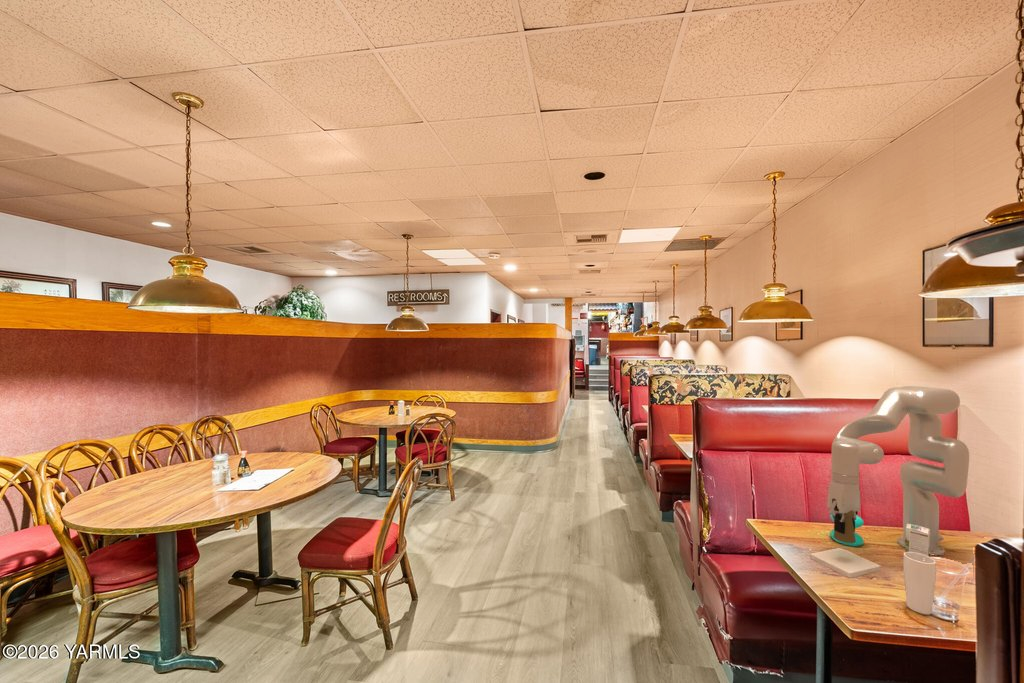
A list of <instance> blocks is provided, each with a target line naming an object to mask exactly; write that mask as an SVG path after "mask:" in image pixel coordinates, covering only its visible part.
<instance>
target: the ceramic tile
mask: <svg viewBox="0 0 1024 683" xmlns="http://www.w3.org/2000/svg"><path fill="white" fill-rule="evenodd" d="M809 559H811V560H813V561H814V562H817V563H819V564H821V565H823V566H824V567H826V568H828V569H831V570H833V571H835V572H837V573H839V574H841V575H842V576H845V577H847V578H848V579H851V578H857V577H861V576H864V575H867V574H873V573H875V572H876V573H877V572H879V571H881V570H882V566H881V565H880V564H877V563H875V562H874V561H871V560H868V559H866V558H865V557H862V556H860V555H857V554H855V553H854V552H852V551H848V550H847V549H844V548H842V547H837V548H832V549H827V550H823V551H819V552H814V553H810V554H809Z"/></svg>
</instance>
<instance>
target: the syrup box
mask: <svg viewBox="0 0 1024 683" xmlns="http://www.w3.org/2000/svg"><path fill="white" fill-rule="evenodd" d="M929 539H930V529H927V528H924V527H921V526H917V525H913V524H907V526H906V536H905V547H904V553H905V552H915V553H920V554H923V555H926V556H928V557H930V555H929Z"/></svg>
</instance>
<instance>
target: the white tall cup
mask: <svg viewBox="0 0 1024 683" xmlns="http://www.w3.org/2000/svg"><path fill="white" fill-rule="evenodd" d="M923 558H925V561H923V560H924V559H923ZM902 565H903V566H902V567H903V568H902V570H903V577H904V586H905V596H906V598H905V599H906V600H905V601H906V606H907V607H908V608H909V609H910V610H912V611H913V612H915V613H918V614H921V615H927V616H928V615H931V614H932V613H933V603H934V597H935V587H936V582H937V562H936V560H935V559H934V558H932V557H930V556H929V557H928V556H926V555H923V554H920V553H915V552H905V551H904V552H903V558H902Z"/></svg>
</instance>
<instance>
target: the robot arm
mask: <svg viewBox="0 0 1024 683" xmlns="http://www.w3.org/2000/svg"><path fill="white" fill-rule="evenodd" d="M960 405H961V398H960V396H959V394H958V393H957V392H955V391H954V390H951V389H947V388H937V387H925V386H916V385H904V386H901V387H890V388H888V389H887V390H885V392H884V393H883V395H881V397H880V398H879V400H878V401H877V403H876V404H875V405H874V406H873V408H872V410H871V411H870V412H869V413H868V414H866V415H865V416H864V415H863V416H861V417H858V418H857V419H855V420H853V421H850V422H848V423H847V424H845V425H843V427H841V429H840V430H839V432H838V433H836V435H835V437H834V438H833V441H832V443H831V463H830V464H831V471H830V472H831V478H830V480H831V481H830V482H829V485H828V490H827V491H828V492H827V493H828V494H827V500H826V501H827V504H826V507H827V509H828V514H829V515H832V516H833V519H834V521H833V526H834V527H833V529H834V530H835V531H837V532H839V533H842V534H845V522H844V513H848V512H849V511H854V517H853V518H852V520H853V527H854V532H855V533H856V528H855V520H856V515H857V516H858V513H859V512H860V511H861V509H862V508H861V501H862V500H861V489H860V465H877V464H878V463H880V462H881V461H882V460H883V459H884V455H885V453H884V450H883V448H882V447H881V446H879V445H878V444H876V443H874V442H871V441H866V440H861V439H859V438H861V437H865V436H868V435H873V434H874V435H875V434H882V433H888V432H889V433H890V432H894V431H895V430H897V428H898V427H899V426H900V424H901V423H902V421H903V420H904V418H905V417H906V415H907V414H908V417H909V433H908V434H909V435H908V443H907V444H908V446H907V447H908V448H907V449H908V450H907V451H908V453H909V454H910V455H911V456H912V457H915V458H918V459H922V460H926V461H931V462H934V463H939V464H943V467H942V466H939V465H934V464H929V463H925V462H921V461H915V460H914V461H913V460H912V461H910V460H909V461H906V462H904V463H902V464H901V466H900V468H899V476H900V481H901V484H902V492H903V494H902V495H903V498H902V499H903V500H902V501H903V502H902V504H903V506H902V509H903V510H902V515H903V516H902V517H903V518H902V521H903V522H902V526H903V527H902V528H903V529H902V533H903V534H902V536H899V537H898V538H897V543H898V544H899V545H900V546H901V547H903V548H905V536H906V526H907V524H913V525H917V526H921V527H924V528H927V529H930V539H929V554H934V555H933V556H937V555H940V556H944V555H945V552H946V551H945V549H944V548H943V546H941V545H939V544H940V542H941V541H944V537H943V535H940V504H939V503H940V502H939V500H938V498H937V496H936V495H935V494H939V495H941V496H946V497H950V498H961V497H962V496H964V494H965V493H966V490H967V486H968V477H969V465H970V451H969V447H968V446H967V444H966V443H965V442H963V441H962V440H959V439H957V438H954V437H953V438H952V437H946V436H943V435H942V433H943V432H942V431H943V429H942V428H943V422H942V420H941V417H940V416H939V415H948V414H952V413H954V412H956V411H957V410H958V408H959V407H960ZM837 509H839V511H837ZM837 513H839V514H841V515H840V516H839V515H838V514H837Z"/></svg>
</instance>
